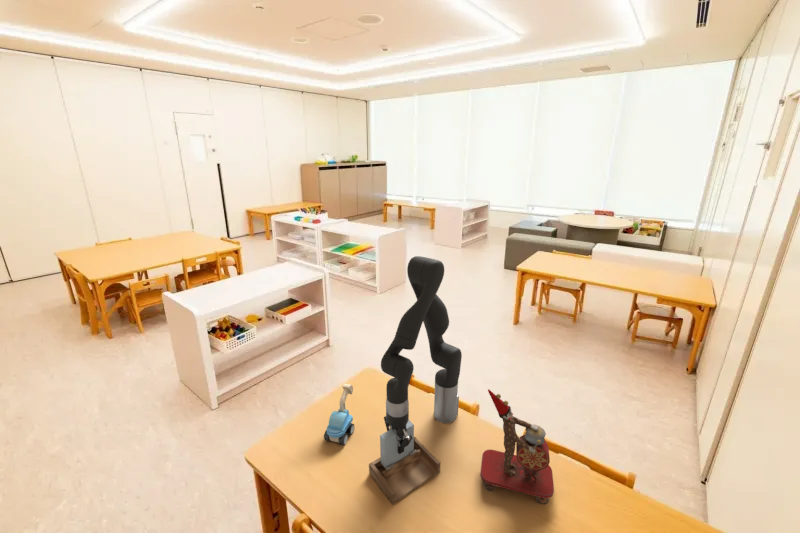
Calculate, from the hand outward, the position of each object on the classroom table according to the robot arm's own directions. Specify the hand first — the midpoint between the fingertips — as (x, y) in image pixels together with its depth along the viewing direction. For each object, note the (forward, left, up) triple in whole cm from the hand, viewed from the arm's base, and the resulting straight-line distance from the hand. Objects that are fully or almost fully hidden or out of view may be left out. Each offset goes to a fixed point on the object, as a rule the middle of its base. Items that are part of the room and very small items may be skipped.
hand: (397, 448), depth 125 cm
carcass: (0, +4, -8) cm, 9 cm away
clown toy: (-28, +29, -8) cm, 41 cm away
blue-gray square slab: (0, 0, -4) cm, 4 cm away
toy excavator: (+8, -26, -8) cm, 28 cm away
